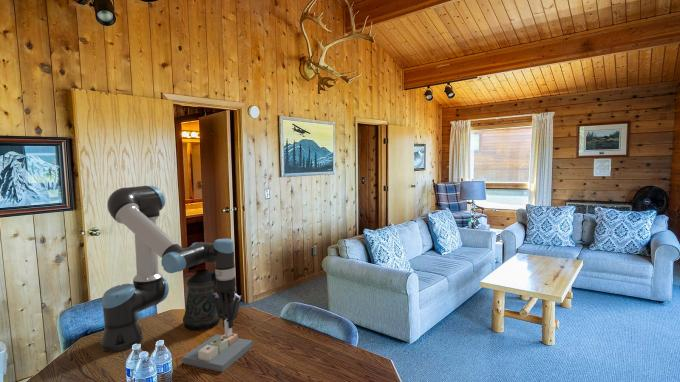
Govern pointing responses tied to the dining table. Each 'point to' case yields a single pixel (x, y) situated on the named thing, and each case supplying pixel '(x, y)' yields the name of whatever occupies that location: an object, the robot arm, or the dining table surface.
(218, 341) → the pale green block
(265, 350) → the dining table surface
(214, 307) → the beer stein
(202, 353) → the cream square block
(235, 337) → the pink square block
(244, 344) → the button board
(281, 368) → the dining table surface
